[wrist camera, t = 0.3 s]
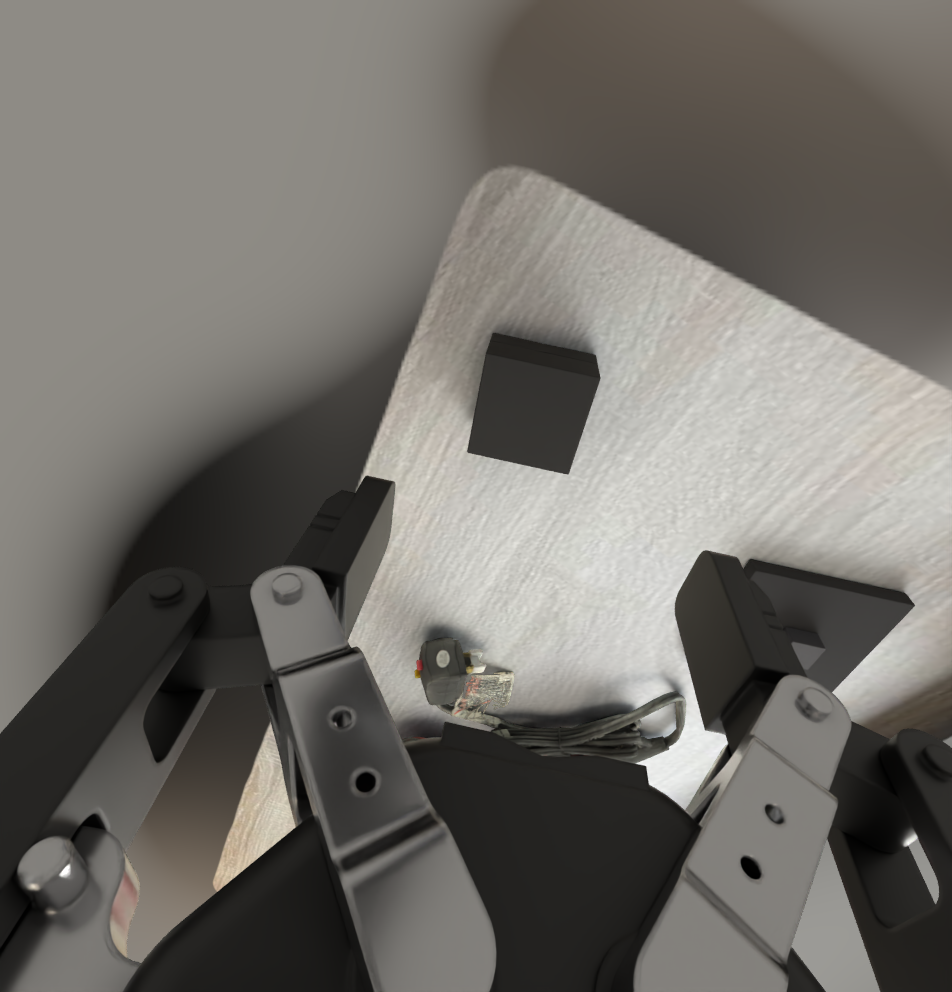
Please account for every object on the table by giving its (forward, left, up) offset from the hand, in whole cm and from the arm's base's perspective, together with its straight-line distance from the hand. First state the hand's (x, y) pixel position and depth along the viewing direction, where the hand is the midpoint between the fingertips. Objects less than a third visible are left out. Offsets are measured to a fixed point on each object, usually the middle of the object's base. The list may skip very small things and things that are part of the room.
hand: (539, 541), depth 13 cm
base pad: (+18, +23, -19) cm, 35 cm away
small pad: (+4, 0, -19) cm, 19 cm away
